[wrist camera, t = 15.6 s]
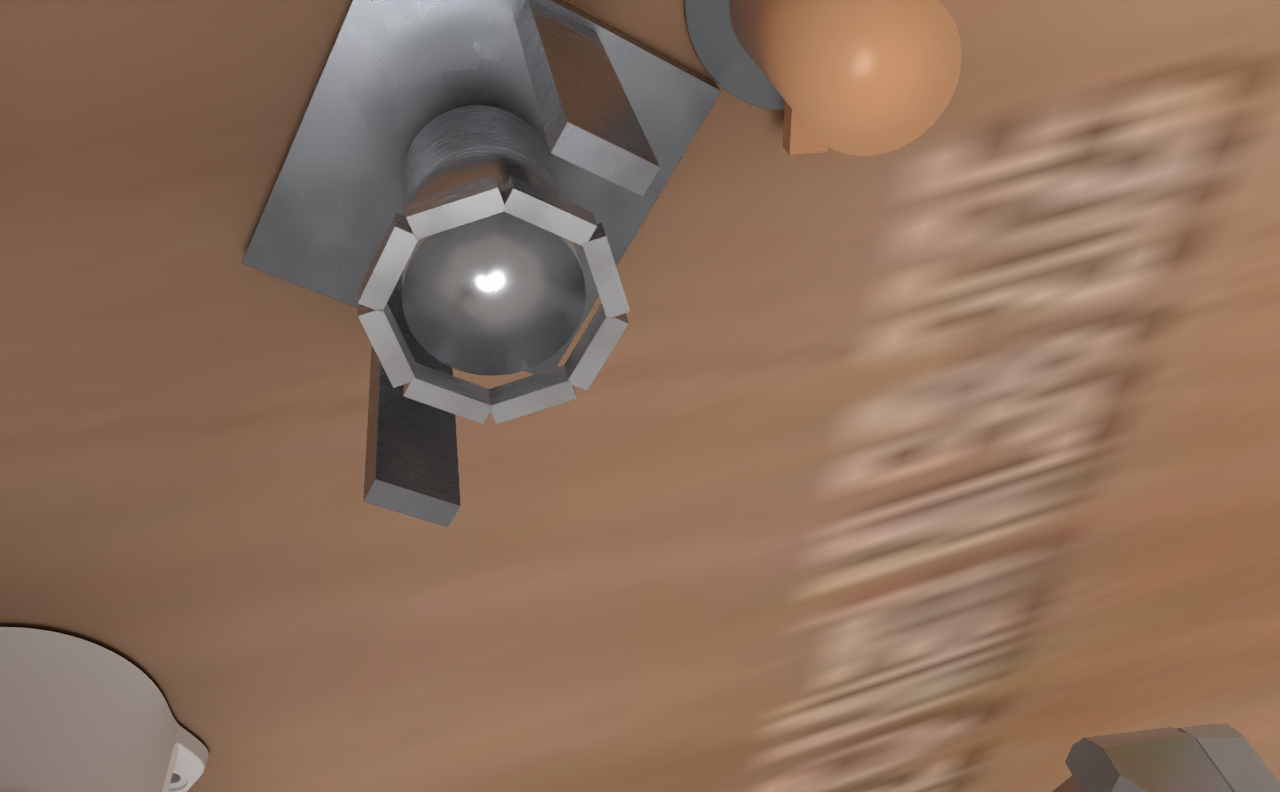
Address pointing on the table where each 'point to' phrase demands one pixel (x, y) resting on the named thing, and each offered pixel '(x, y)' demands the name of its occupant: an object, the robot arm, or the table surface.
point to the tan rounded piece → (853, 68)
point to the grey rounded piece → (727, 54)
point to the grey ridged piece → (473, 210)
